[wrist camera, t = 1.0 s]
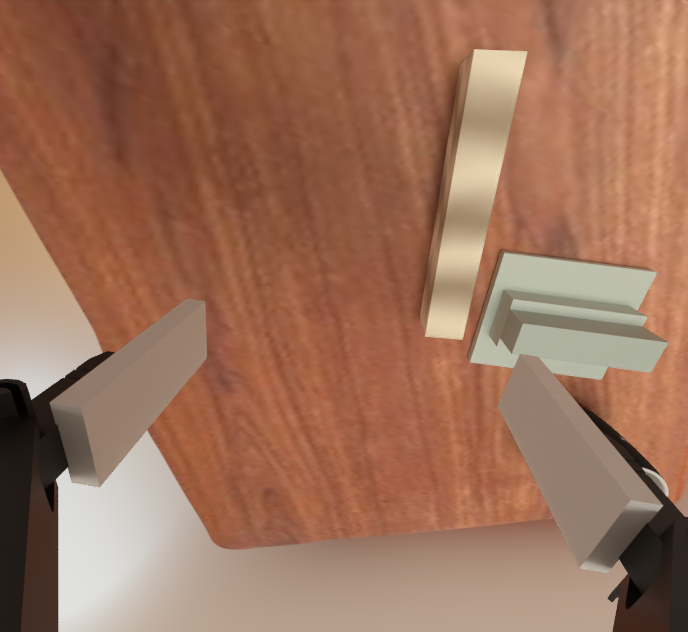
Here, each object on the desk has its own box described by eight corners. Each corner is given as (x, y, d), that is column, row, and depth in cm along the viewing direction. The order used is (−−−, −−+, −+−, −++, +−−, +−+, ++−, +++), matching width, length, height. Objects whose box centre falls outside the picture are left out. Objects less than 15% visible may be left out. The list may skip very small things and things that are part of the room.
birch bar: (459, 65, 27) (474, 49, 23) (504, 67, 27) (527, 51, 23) (419, 316, 36) (424, 336, 32) (452, 319, 36) (462, 339, 32)
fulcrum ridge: (500, 250, 33) (529, 270, 27) (649, 269, 32) (711, 293, 26) (467, 357, 38) (485, 394, 32) (595, 374, 37) (637, 414, 31)
